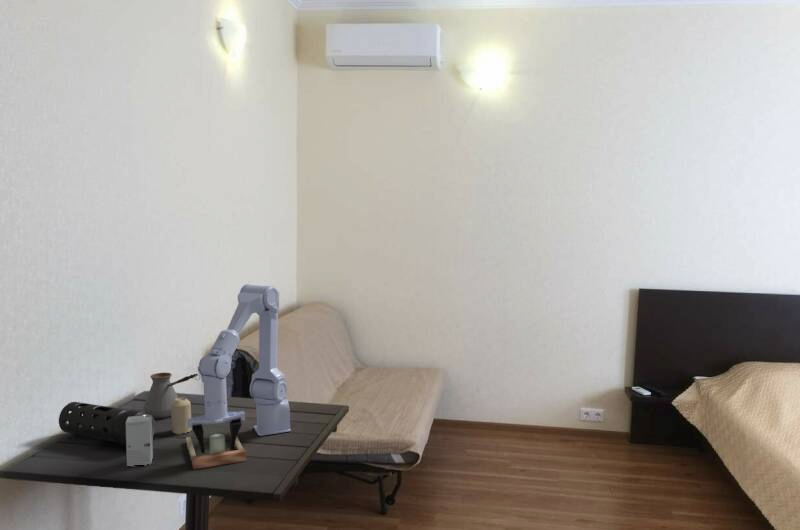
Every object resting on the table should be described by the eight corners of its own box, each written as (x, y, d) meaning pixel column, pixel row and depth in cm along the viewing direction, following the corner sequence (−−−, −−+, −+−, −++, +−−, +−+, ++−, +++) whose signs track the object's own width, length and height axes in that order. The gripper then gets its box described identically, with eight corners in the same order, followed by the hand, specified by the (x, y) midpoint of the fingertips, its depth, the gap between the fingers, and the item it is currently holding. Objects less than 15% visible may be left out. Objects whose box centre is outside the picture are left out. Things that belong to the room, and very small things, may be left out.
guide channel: (234, 435, 192) (234, 427, 192) (246, 460, 174) (246, 451, 174) (186, 442, 187) (185, 434, 187) (193, 469, 169) (193, 459, 168)
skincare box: (126, 467, 170) (124, 422, 169) (129, 460, 174) (127, 416, 173) (151, 465, 171) (149, 420, 170) (154, 458, 176) (152, 414, 175)
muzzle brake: (86, 430, 198) (84, 396, 197) (158, 443, 187) (157, 407, 186) (58, 441, 189) (56, 406, 188) (133, 455, 178) (131, 418, 177)
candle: (185, 435, 193) (184, 401, 192) (168, 434, 194) (166, 400, 193) (195, 428, 198) (193, 396, 197) (178, 427, 199) (176, 395, 198)
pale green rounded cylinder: (224, 454, 178) (223, 433, 177) (226, 460, 174) (225, 438, 174) (209, 457, 177) (208, 435, 176) (211, 462, 173) (210, 440, 172)
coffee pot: (135, 417, 209) (133, 371, 207) (163, 406, 219) (161, 362, 217) (186, 427, 200) (184, 378, 198) (213, 415, 210) (211, 369, 208)
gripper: (188, 408, 167) (190, 459, 169) (246, 400, 173) (247, 450, 174) (185, 400, 174) (188, 449, 175) (241, 393, 179) (243, 441, 181)
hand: (217, 449), depth 175 cm, fingers open, 7 cm apart
